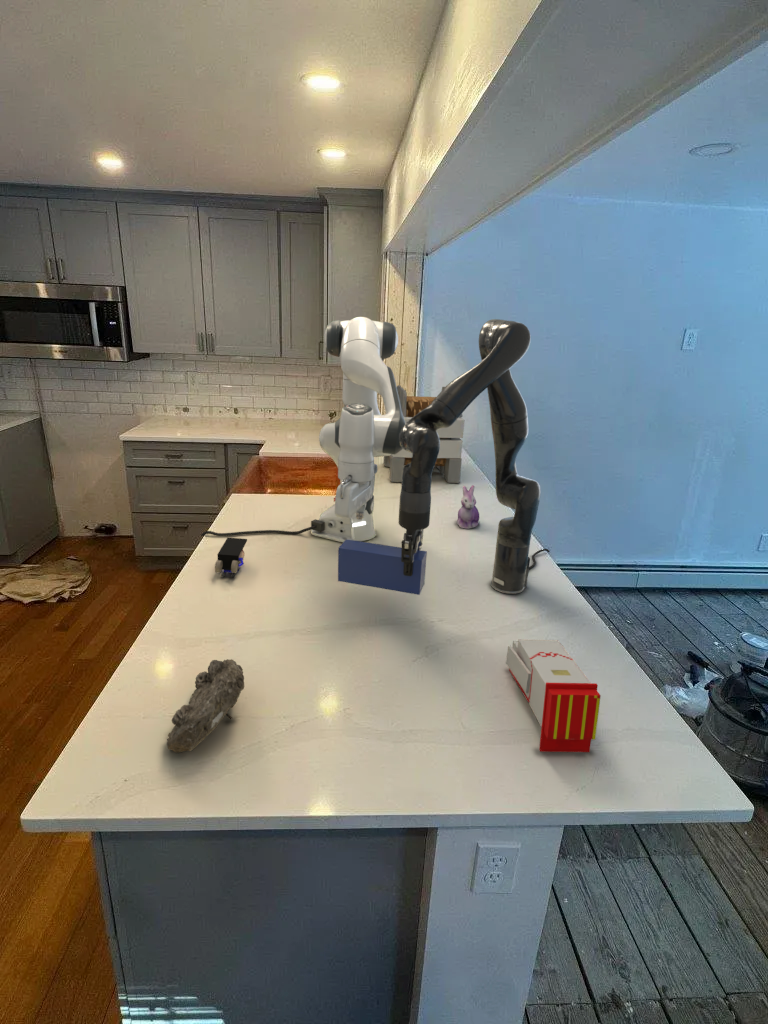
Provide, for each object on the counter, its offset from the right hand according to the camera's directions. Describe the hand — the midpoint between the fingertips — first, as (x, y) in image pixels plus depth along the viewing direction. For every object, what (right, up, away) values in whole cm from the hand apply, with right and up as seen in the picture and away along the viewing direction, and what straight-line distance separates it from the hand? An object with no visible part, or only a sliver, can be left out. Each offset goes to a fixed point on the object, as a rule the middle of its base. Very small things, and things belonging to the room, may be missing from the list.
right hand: (411, 569), depth 142 cm
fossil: (-40, -25, -34) cm, 58 cm away
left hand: (-14, +11, +2) cm, 18 cm away
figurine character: (-52, -3, +25) cm, 58 cm away
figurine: (+24, +10, +69) cm, 74 cm away
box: (-8, -4, +4) cm, 9 cm away
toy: (+26, -25, -26) cm, 44 cm away
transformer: (+10, +33, +133) cm, 137 cm away
